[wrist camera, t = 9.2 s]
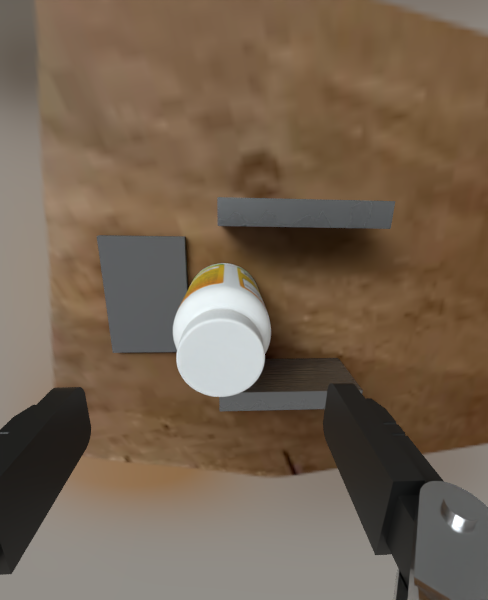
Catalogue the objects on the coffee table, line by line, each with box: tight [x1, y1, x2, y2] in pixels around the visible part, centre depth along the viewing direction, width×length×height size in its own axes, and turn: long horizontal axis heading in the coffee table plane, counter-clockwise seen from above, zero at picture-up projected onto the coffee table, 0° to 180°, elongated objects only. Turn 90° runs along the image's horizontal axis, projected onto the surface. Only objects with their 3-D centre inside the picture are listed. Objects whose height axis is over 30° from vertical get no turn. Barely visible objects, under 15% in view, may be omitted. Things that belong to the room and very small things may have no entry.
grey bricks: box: [218, 197, 395, 411], centre depth 20 cm, size 10×14×4 cm
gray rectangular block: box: [97, 235, 188, 353], centre depth 21 cm, size 6×9×1 cm, turn 179°
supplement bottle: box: [173, 263, 271, 397], centre depth 17 cm, size 5×5×10 cm
